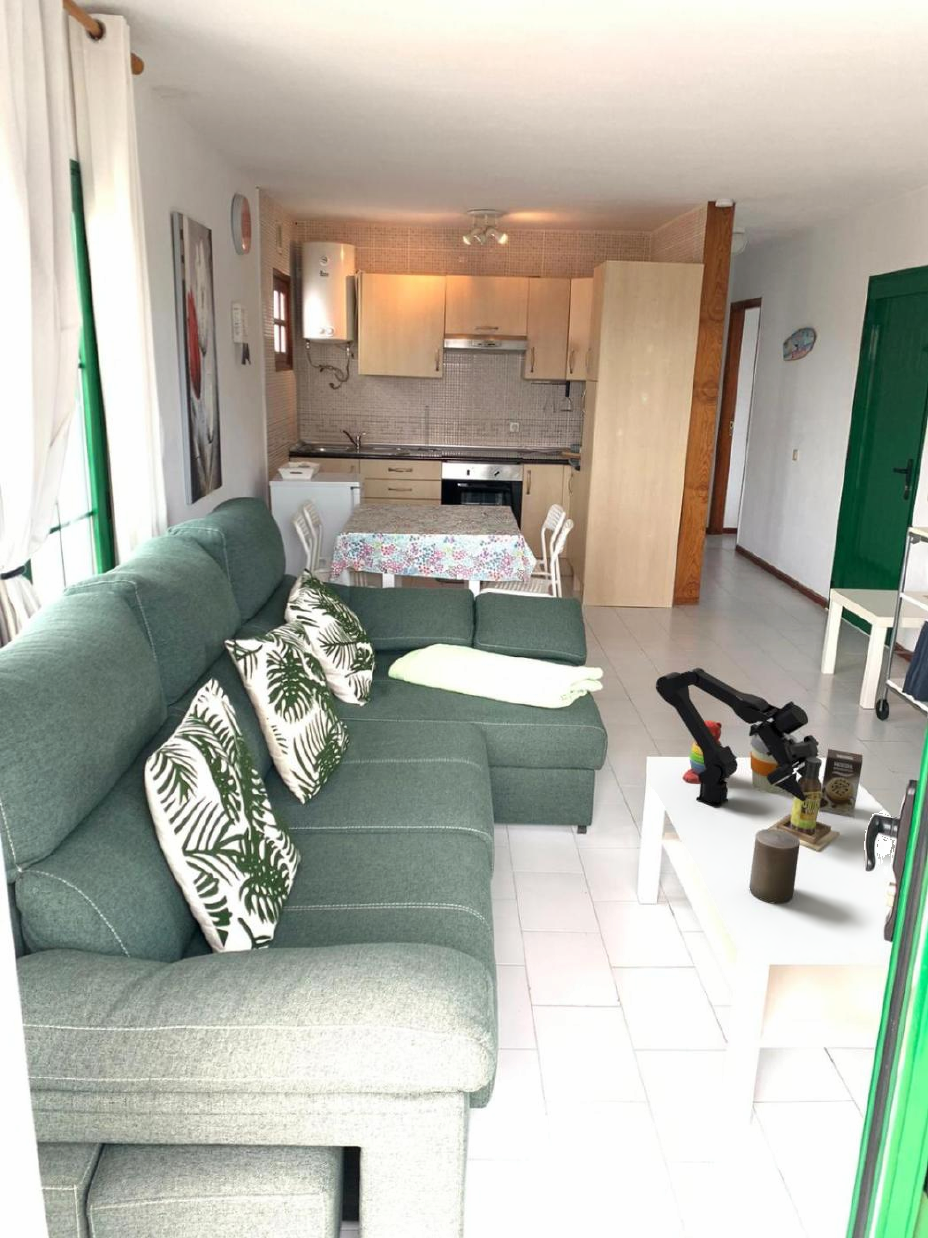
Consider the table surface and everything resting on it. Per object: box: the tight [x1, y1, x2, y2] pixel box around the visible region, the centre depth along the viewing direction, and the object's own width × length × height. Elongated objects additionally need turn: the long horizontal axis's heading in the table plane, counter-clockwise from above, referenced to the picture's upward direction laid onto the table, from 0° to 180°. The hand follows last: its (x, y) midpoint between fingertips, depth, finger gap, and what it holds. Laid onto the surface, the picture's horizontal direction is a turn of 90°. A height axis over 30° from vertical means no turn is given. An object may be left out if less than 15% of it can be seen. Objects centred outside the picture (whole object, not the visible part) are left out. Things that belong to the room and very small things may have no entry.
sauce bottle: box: [790, 756, 823, 835], centre depth 246 cm, size 6×6×20 cm
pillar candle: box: [748, 828, 801, 904], centre depth 218 cm, size 10×10×15 cm
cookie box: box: [818, 748, 863, 818], centre depth 260 cm, size 9×6×16 cm
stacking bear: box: [682, 720, 723, 785], centre depth 277 cm, size 11×10×18 cm
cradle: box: [767, 813, 841, 852], centre depth 248 cm, size 14×13×2 cm
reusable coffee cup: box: [749, 733, 798, 794], centre depth 274 cm, size 12×12×15 cm
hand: (812, 795), depth 245 cm, fingers open, 9 cm apart
